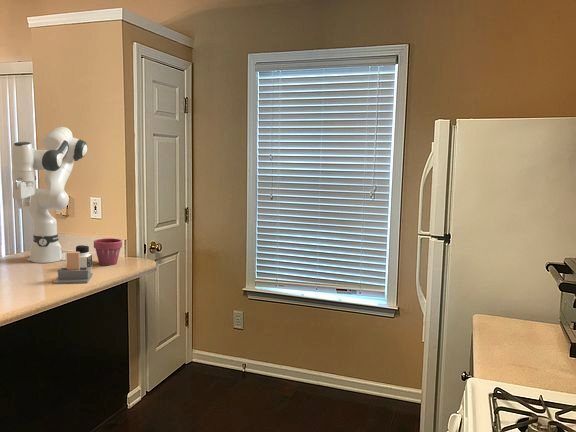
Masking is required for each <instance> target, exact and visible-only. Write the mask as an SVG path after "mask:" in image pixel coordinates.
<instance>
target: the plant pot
mask: <svg viewBox="0 0 576 432" xmlns="http://www.w3.org/2000/svg"><path fill="white" fill-rule="evenodd" d="M122 247H123V239H120V238H109V237H108V238H97V239H95V240H93V249H94V250H95V253H96V256H97V261H98V264H99V265H101V266H115V265H117V263H118V261H119V260H118V259H119V255H120V251H121V248H122Z"/></svg>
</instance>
